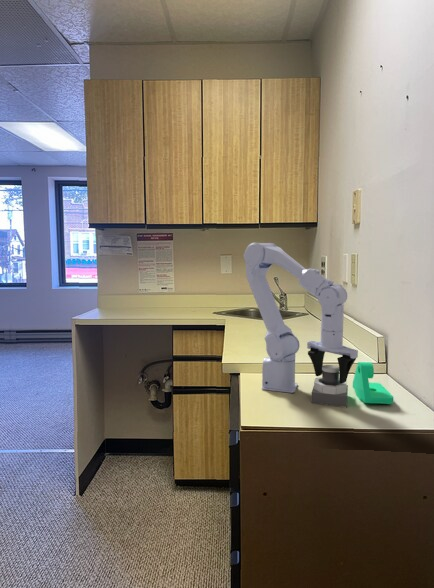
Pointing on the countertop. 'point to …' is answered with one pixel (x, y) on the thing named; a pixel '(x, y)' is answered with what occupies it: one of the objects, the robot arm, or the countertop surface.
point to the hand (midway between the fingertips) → (330, 378)
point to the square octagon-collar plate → (329, 393)
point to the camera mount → (369, 386)
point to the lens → (330, 375)
